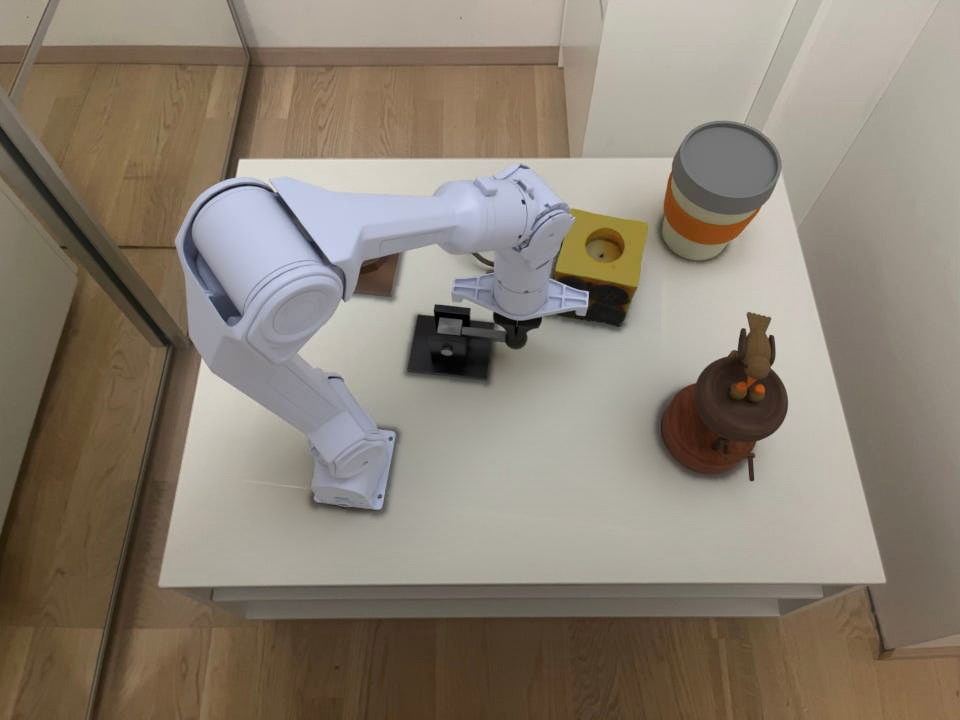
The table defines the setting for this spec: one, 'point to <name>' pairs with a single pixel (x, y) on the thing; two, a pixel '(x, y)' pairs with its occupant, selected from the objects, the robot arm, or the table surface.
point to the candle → (602, 264)
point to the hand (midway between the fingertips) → (516, 332)
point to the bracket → (449, 347)
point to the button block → (378, 275)
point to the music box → (728, 406)
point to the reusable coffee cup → (717, 187)
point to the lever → (478, 333)
